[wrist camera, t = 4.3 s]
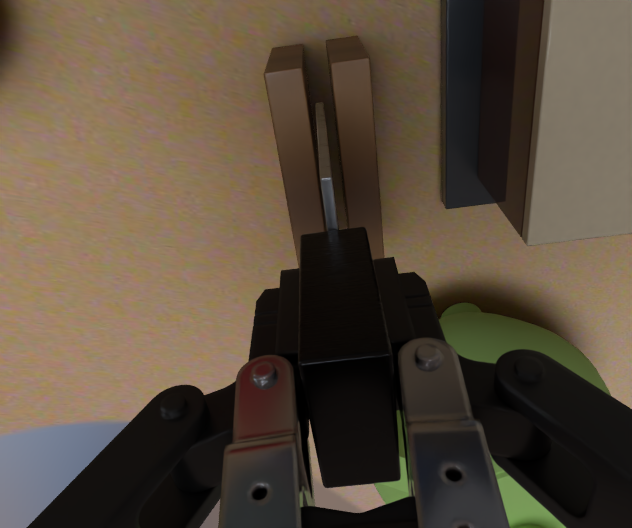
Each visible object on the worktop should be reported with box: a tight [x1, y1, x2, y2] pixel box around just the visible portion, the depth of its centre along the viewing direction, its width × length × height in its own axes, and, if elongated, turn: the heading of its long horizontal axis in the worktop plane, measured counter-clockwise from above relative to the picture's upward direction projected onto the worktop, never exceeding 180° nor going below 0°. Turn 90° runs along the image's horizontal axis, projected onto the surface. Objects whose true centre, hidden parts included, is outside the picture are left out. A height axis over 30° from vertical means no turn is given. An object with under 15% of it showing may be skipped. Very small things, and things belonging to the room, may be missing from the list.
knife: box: [298, 102, 401, 488], centre depth 16 cm, size 7×2×12 cm, turn 7°
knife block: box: [264, 36, 384, 268], centre depth 23 cm, size 10×4×5 cm, turn 8°
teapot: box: [374, 303, 611, 528], centre depth 28 cm, size 20×13×13 cm
